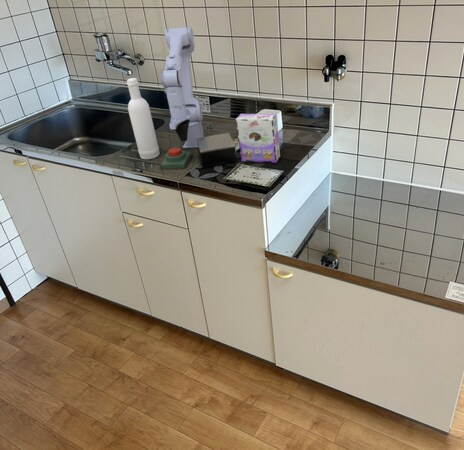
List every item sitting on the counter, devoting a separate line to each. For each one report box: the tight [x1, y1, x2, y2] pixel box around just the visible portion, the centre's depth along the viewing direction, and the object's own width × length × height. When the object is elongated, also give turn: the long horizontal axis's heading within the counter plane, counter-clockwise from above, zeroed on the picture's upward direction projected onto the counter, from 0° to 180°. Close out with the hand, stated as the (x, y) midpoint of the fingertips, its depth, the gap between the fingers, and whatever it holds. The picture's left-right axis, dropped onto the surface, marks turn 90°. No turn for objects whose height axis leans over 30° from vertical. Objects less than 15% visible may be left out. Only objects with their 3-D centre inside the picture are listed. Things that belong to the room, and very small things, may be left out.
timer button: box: [168, 147, 182, 157], centre depth 175 cm, size 4×4×2 cm
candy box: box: [235, 113, 281, 164], centre depth 167 cm, size 14×6×16 cm, turn 71°
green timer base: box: [160, 148, 192, 170], centre depth 176 cm, size 11×9×4 cm
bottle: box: [126, 77, 161, 160], centre depth 177 cm, size 8×8×30 cm
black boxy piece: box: [196, 140, 238, 170], centre depth 174 cm, size 12×13×6 cm
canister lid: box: [196, 132, 236, 153], centre depth 172 cm, size 13×13×1 cm
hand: (184, 140), depth 172 cm, fingers closed
